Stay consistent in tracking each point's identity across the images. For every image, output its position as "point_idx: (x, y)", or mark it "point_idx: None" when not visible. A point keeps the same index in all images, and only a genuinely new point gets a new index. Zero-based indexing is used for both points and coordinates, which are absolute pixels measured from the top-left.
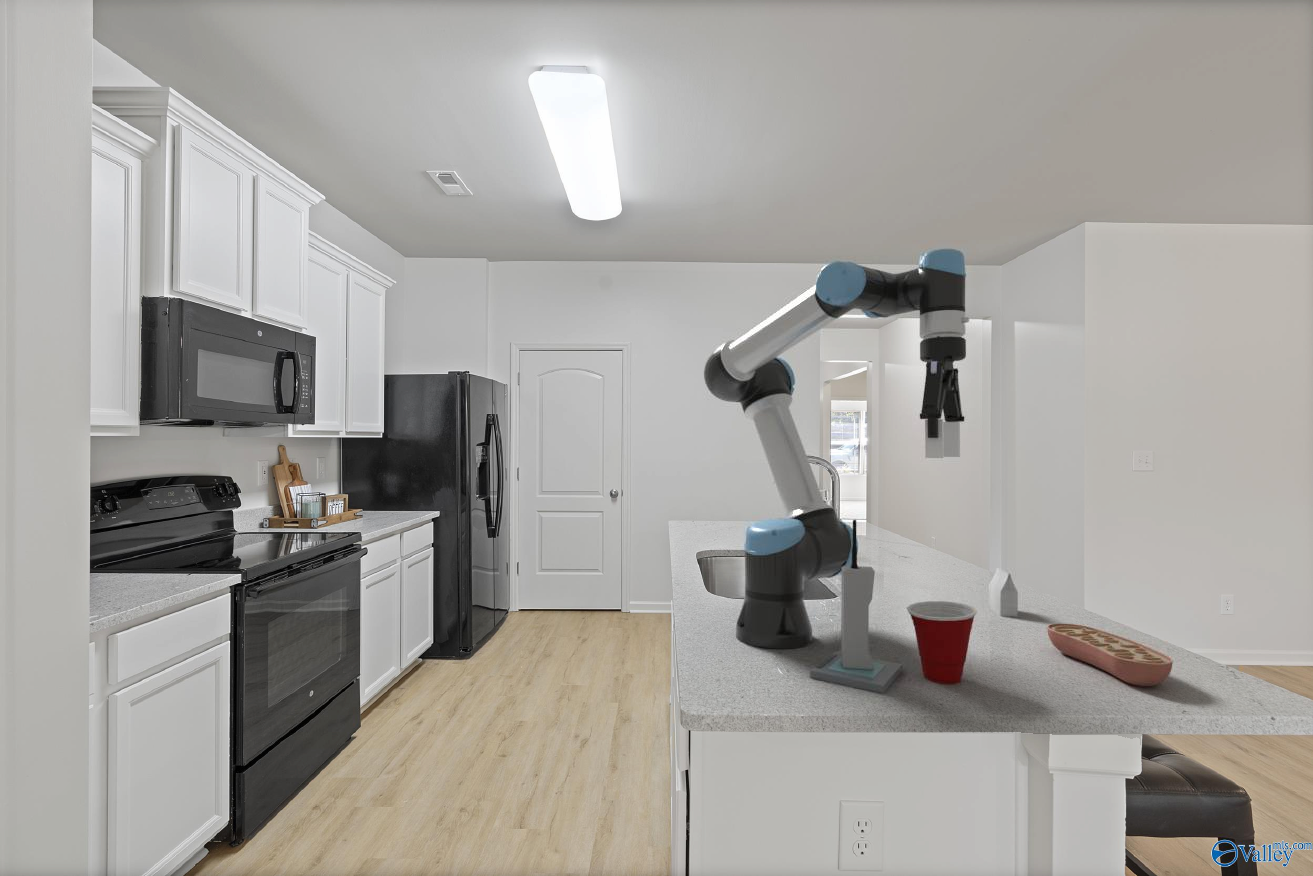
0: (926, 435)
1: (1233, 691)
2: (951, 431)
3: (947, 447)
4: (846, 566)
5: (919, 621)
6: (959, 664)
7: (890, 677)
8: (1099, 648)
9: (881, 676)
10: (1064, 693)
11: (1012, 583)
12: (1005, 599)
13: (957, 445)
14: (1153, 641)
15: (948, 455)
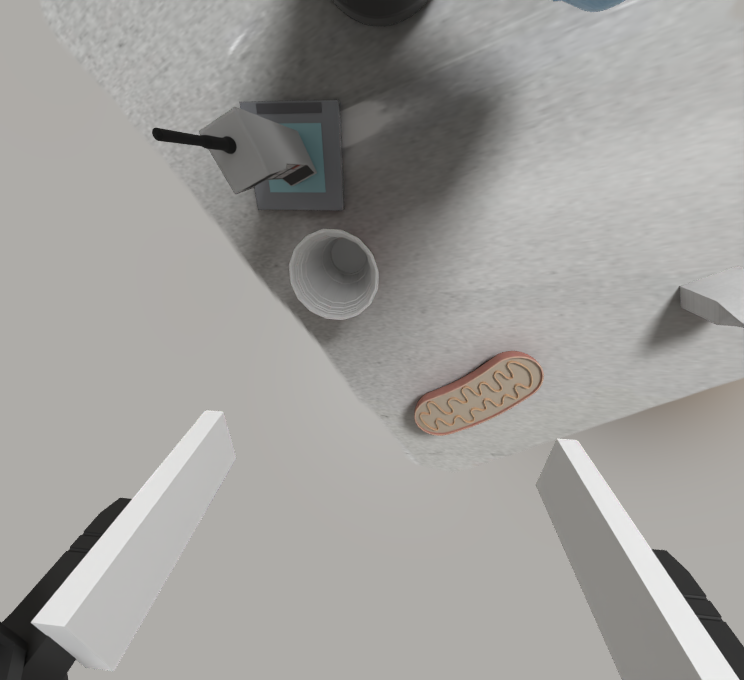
0: (135, 504)
1: (454, 446)
2: (623, 617)
3: (575, 493)
4: (233, 120)
5: (302, 251)
6: (333, 280)
7: (288, 209)
8: (443, 394)
9: (284, 199)
10: (376, 353)
11: (731, 324)
12: (705, 303)
13: (563, 534)
14: (597, 424)
15: (551, 460)
